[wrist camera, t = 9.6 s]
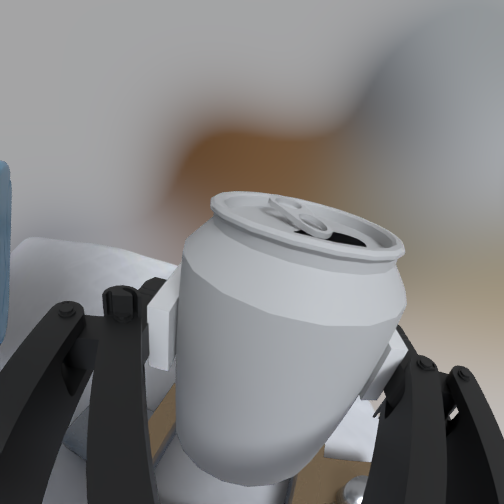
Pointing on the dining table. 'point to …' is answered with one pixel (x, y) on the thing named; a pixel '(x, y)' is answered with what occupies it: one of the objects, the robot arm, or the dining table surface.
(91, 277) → the dining table surface
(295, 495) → the chain end upper
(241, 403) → the can
